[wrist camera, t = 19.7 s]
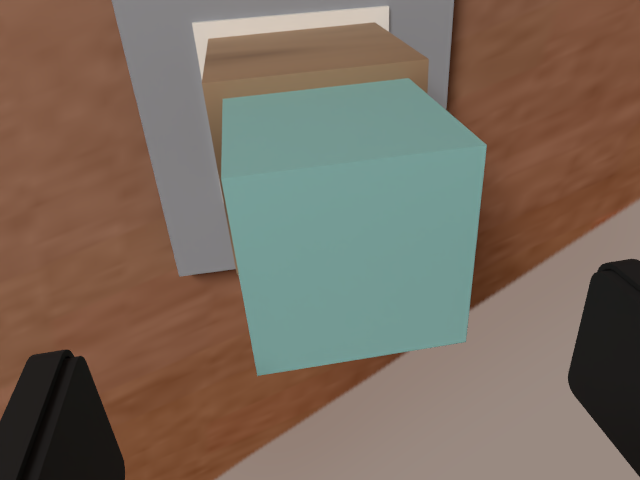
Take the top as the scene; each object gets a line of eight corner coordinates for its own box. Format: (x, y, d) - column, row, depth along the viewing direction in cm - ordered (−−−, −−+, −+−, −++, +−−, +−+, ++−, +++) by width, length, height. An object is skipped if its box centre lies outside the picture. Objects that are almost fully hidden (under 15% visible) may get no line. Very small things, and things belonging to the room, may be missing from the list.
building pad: (429, 231, 26) (438, 244, 25) (181, 264, 24) (179, 278, 23) (451, -114, 18) (464, -116, 17) (96, -91, 17) (88, -92, 16)
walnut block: (376, 173, 22) (420, 248, 17) (234, 191, 22) (236, 274, 17) (374, 22, 19) (429, 59, 14) (208, 38, 18) (201, 83, 13)
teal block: (405, 235, 17) (465, 342, 13) (249, 258, 16) (257, 375, 12) (408, 77, 14) (486, 145, 10) (222, 98, 14) (221, 178, 9)
